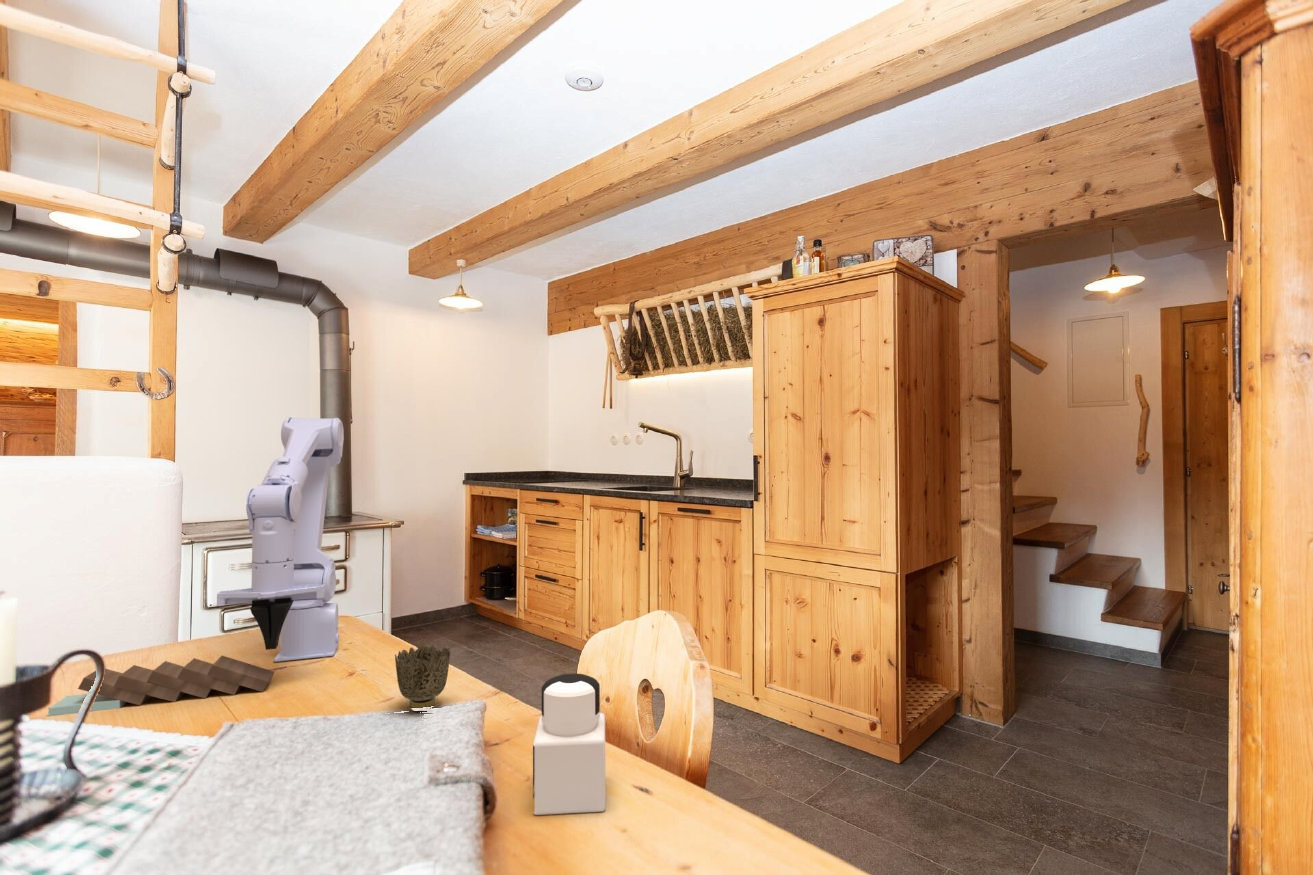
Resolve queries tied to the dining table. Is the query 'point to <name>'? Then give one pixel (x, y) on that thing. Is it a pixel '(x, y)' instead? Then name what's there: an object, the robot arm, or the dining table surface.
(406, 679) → the cup
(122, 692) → the domino
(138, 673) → the domino
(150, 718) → the dining table surface
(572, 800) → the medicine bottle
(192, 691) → the domino
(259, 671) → the domino
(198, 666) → the domino
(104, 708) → the domino
